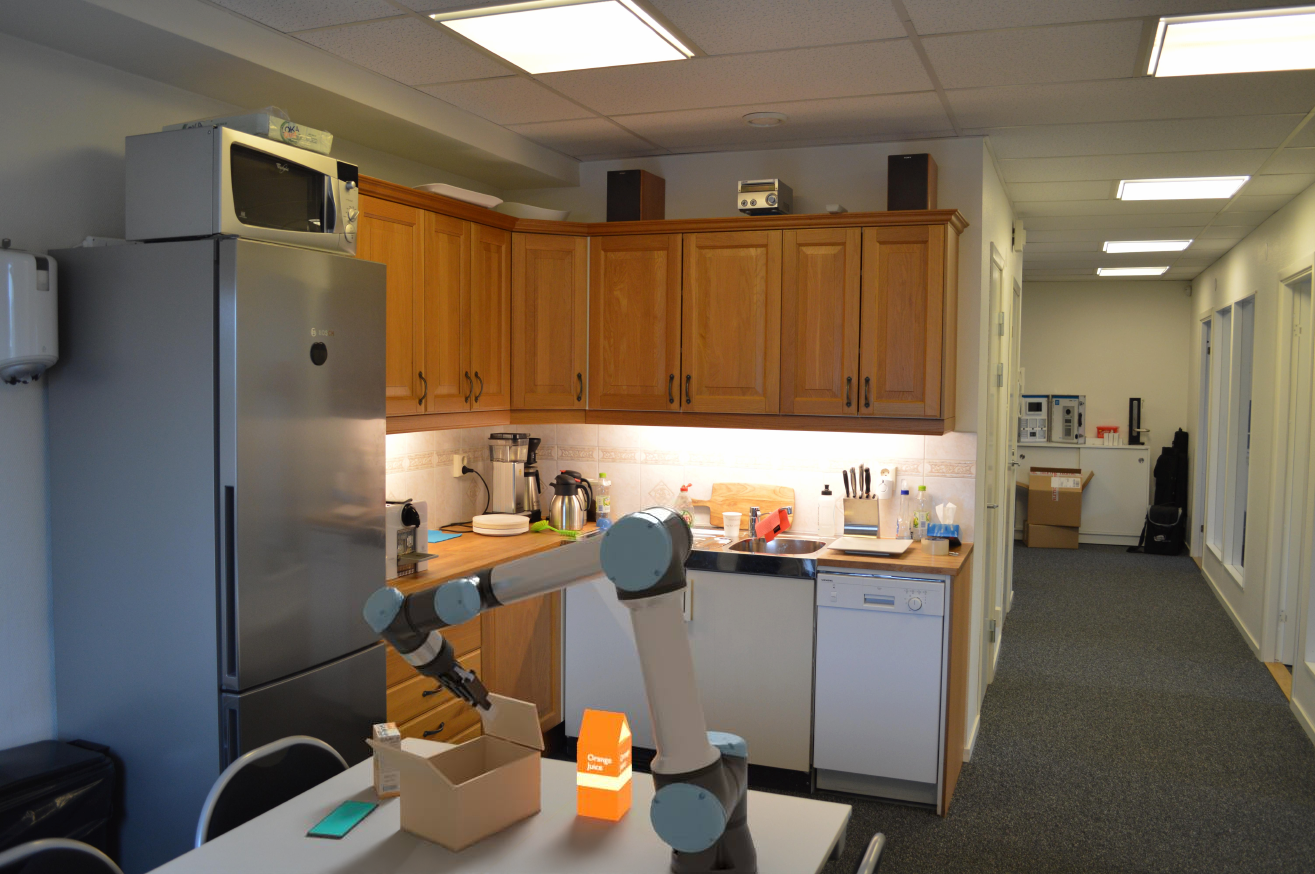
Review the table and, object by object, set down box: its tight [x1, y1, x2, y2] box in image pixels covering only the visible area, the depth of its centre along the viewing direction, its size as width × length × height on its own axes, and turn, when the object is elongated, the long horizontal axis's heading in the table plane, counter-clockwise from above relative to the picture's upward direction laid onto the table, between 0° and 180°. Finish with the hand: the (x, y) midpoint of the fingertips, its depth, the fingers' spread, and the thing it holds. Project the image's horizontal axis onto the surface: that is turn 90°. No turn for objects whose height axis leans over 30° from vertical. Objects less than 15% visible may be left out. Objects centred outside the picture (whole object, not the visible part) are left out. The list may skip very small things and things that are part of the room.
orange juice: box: [576, 709, 633, 822], centre depth 187 cm, size 8×9×20 cm
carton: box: [399, 734, 542, 853], centre depth 182 cm, size 16×22×12 cm
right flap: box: [480, 691, 546, 751], centre depth 190 cm, size 17×10×1 cm
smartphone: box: [306, 800, 380, 840], centre depth 182 cm, size 7×1×15 cm
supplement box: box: [372, 721, 402, 800], centre depth 196 cm, size 8×5×13 cm, turn 25°
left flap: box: [365, 738, 456, 790], centre depth 170 cm, size 17×10×1 cm
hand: (492, 714), depth 186 cm, fingers closed
